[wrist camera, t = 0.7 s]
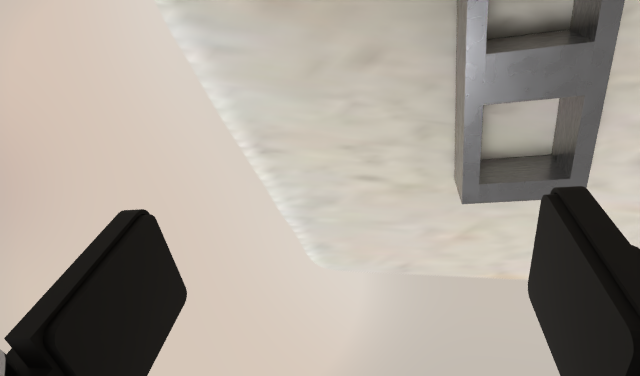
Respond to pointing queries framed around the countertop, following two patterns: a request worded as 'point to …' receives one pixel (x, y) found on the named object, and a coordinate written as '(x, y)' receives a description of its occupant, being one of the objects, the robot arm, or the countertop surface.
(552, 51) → the grey compartment tray
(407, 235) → the countertop surface
